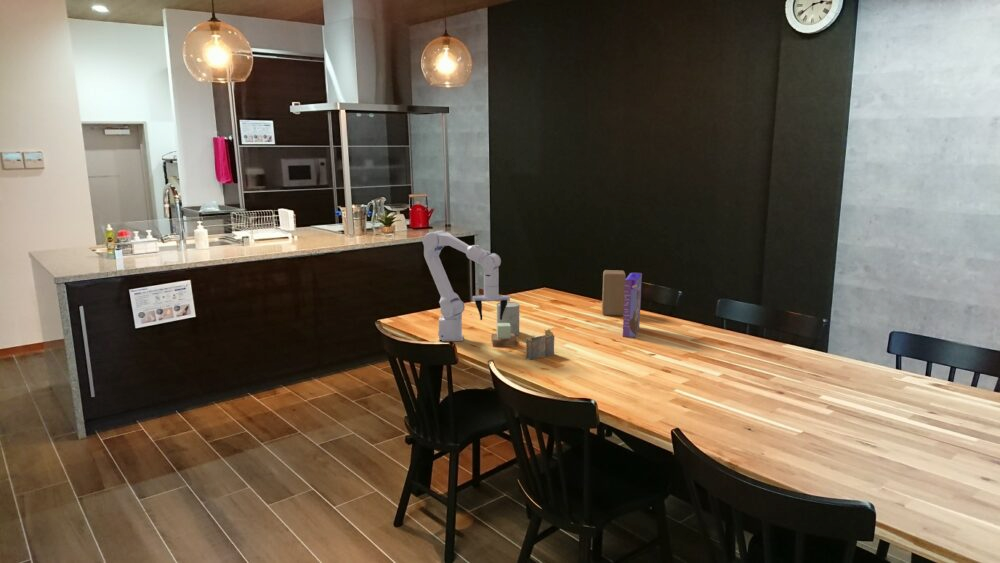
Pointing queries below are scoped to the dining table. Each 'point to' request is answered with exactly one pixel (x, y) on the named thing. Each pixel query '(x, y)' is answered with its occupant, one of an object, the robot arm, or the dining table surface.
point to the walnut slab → (503, 341)
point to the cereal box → (632, 304)
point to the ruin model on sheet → (540, 346)
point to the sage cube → (503, 330)
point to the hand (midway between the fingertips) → (491, 319)
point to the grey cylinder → (510, 316)
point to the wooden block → (613, 292)
